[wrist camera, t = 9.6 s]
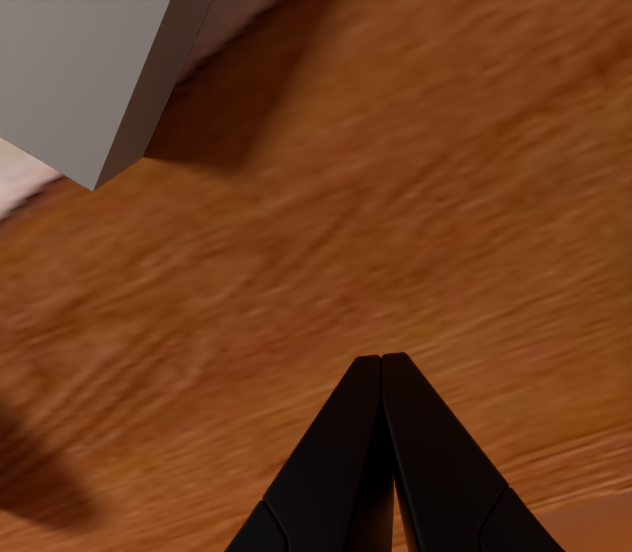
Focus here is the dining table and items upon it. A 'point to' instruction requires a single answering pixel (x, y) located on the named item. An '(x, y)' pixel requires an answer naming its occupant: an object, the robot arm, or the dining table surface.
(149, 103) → the deck
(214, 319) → the dining table surface
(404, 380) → the robot arm
